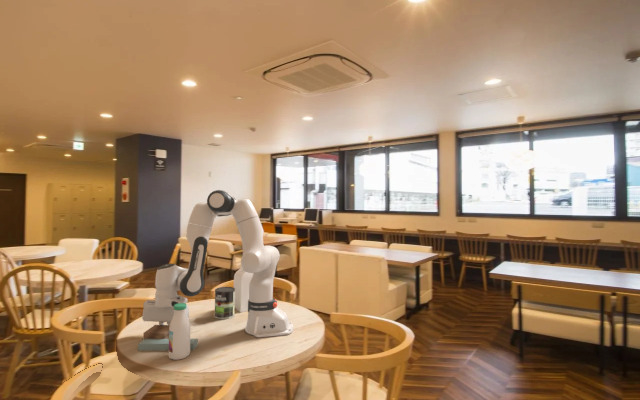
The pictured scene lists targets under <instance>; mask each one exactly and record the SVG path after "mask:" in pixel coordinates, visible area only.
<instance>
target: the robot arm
mask: <svg viewBox="0 0 640 400" xmlns="http://www.w3.org/2000/svg"><path fill="white" fill-rule="evenodd" d="M227 216H232V217H233V219H234V222H235V224H236V227H237V230H238V232H239V236H240V239H241V244H242V257H241V258H240V266H241V267H242V268H243V270H244V271H246V272H248V273H253V277H252V279H251V281H250V284H249V300H248V311H247V321H246V325H245V328H244V331H245V333H247V334H248V335H252V336H253V337H255V338H265V337H275V336H276V337H277V336H287V335H290V334H292V333H293V330H294V324H293V322H291V321H289V317H288V315H287V313H286V312H285V311H283V310H282V309H281V308H280V307H278V301H277V299H276V298H274V295H273V294H274V291H273V290H274V280H275V275H276V270H277V265H278V262H279V260H280V257H281V255H280V251H279V250H278V248H277V247H275V246H272V245H264V234H265V230H264V228H263V224H262V221H261V220H260V217H259V214H258V212H257V210H256V208H255V206H254V204H253V203H252V201H251V200H250V199H249V198H240V199H236V198H235V197H234V196H232V194H231V193H229V192H227V191H225V190H221V189H217V190H213V191H212V192H210V193H209V195H208V196H207V199H206V202H197V203H196V204H194V207H193V209H192V211H191V214H190V216H189V219H188V221H187V226H186V234H185V235H186V239H187V242H188V243H189V246H190V250H191V251H190V252H191V254H190V258H189V262H188V268H186V267H181V266H178V265H176V264H175V263H166V264H162V265H160V266H159V267H158V268H157V270H156V273H155V284H154V285H155V295H154V299H147V300H145V301H144V302H143V310H142V317H141V318H142V321H143V322H151V323H153V322H155V323H156V322H158V325H165V323H166V325H170V323H171V321H172V318H173V316H174V305H175V304H178V303H185V304H186V305H187V308H186V314H187V317H188V319H189V318H190V309H189V306H188V304H187V303H188V298H187V297H195V296H197V295H199V294H200V293H201V292H202V291H203V289H204V286H205V277H204V270H205V269H204V268H205V262H206V256H207V253H208V252H207V251H208V245H209V242H210V237H211V232H212V230H213V225H214V222H215V219H216V218H217V217H227ZM179 291H180V292H181V293H182V294H183V295H184V296H186V297H184V296H182V295H179V294H178V292H179ZM189 320H190V319H189Z"/></svg>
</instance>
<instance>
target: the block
mask: <svg viewBox="0 0 640 400" xmlns="http://www.w3.org/2000/svg"><path fill="white" fill-rule="evenodd" d="M169 327H170V325H168V324H164V325H159V324H154V325H153V326H151V327H150V328H148V329H147V330H146V331H145V332H143V339H142V341H143V340H144V339H169Z"/></svg>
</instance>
